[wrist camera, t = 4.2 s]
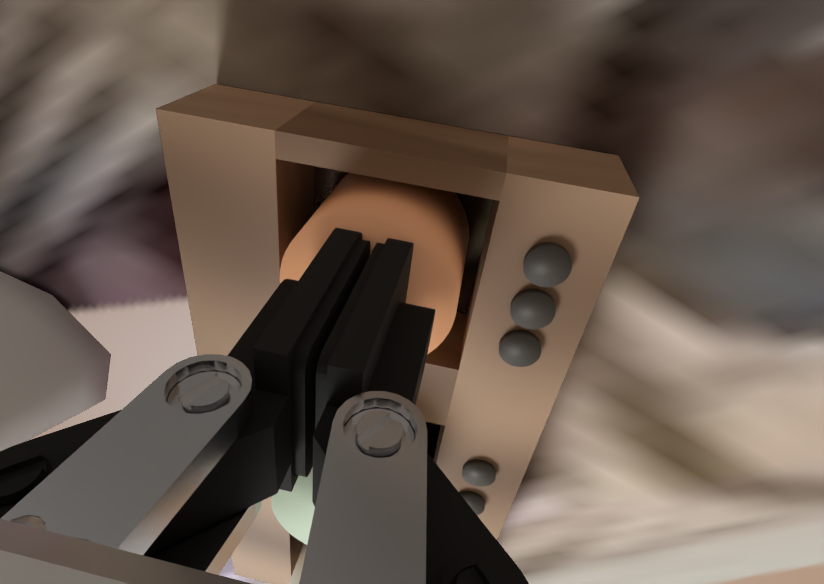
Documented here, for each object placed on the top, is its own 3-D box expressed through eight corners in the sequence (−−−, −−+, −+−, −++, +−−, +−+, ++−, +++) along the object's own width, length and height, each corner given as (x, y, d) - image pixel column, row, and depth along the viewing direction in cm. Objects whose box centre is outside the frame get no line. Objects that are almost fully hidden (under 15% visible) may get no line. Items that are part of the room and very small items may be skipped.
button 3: (455, 304, 15) (441, 380, 12) (324, 278, 15) (282, 346, 12) (482, 176, 12) (473, 235, 10) (327, 147, 13) (276, 196, 10)
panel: (464, 572, 23) (458, 637, 21) (259, 521, 24) (232, 579, 22) (618, 155, 12) (641, 201, 9) (215, 84, 12) (149, 111, 10)
